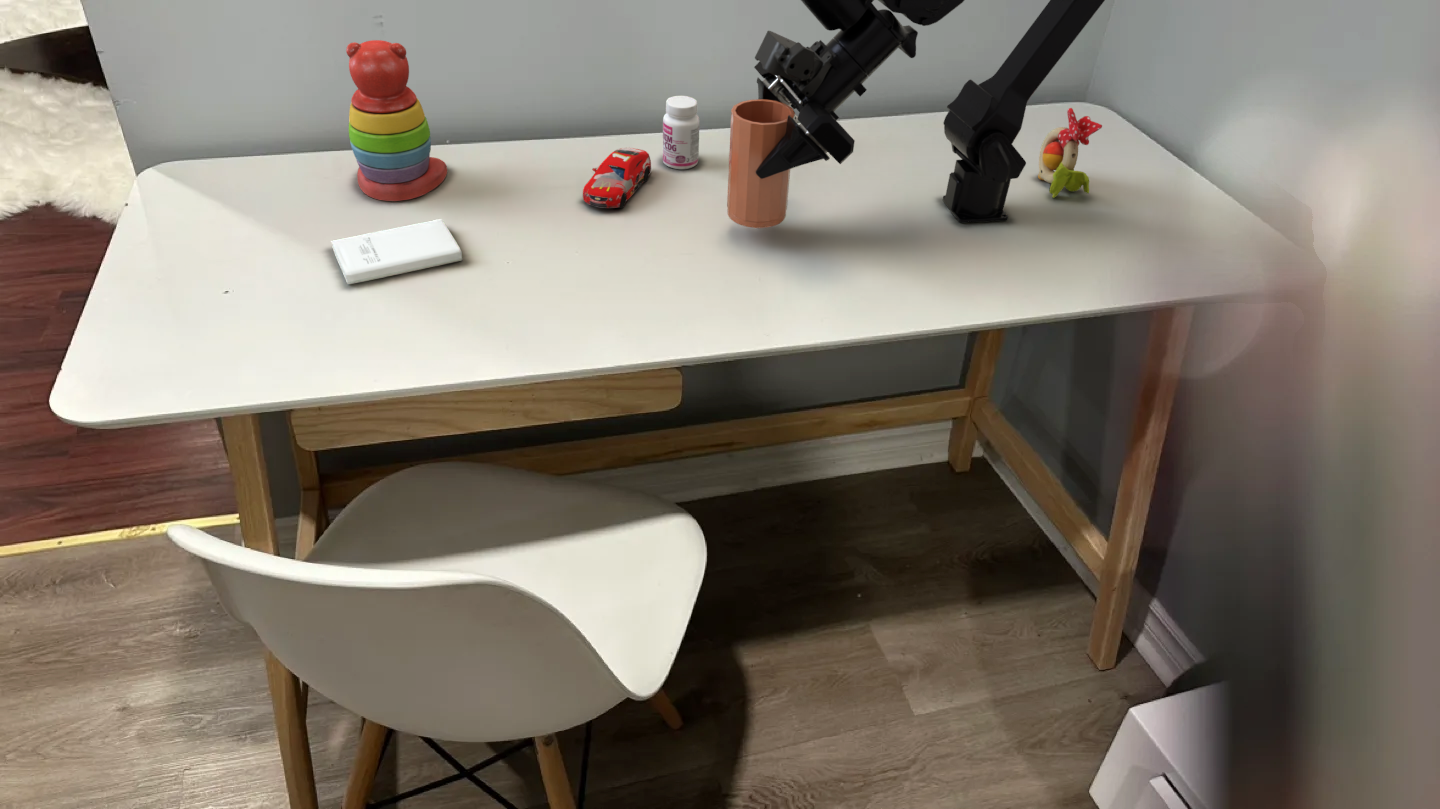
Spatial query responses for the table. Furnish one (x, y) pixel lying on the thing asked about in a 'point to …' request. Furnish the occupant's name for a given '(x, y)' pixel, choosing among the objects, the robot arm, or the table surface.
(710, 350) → the table surface
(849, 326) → the table surface
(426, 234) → the hard drive
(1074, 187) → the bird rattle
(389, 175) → the stacking bear
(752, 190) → the pencil cup
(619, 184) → the race car
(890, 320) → the table surface
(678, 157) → the pill bottle
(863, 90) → the robot arm
